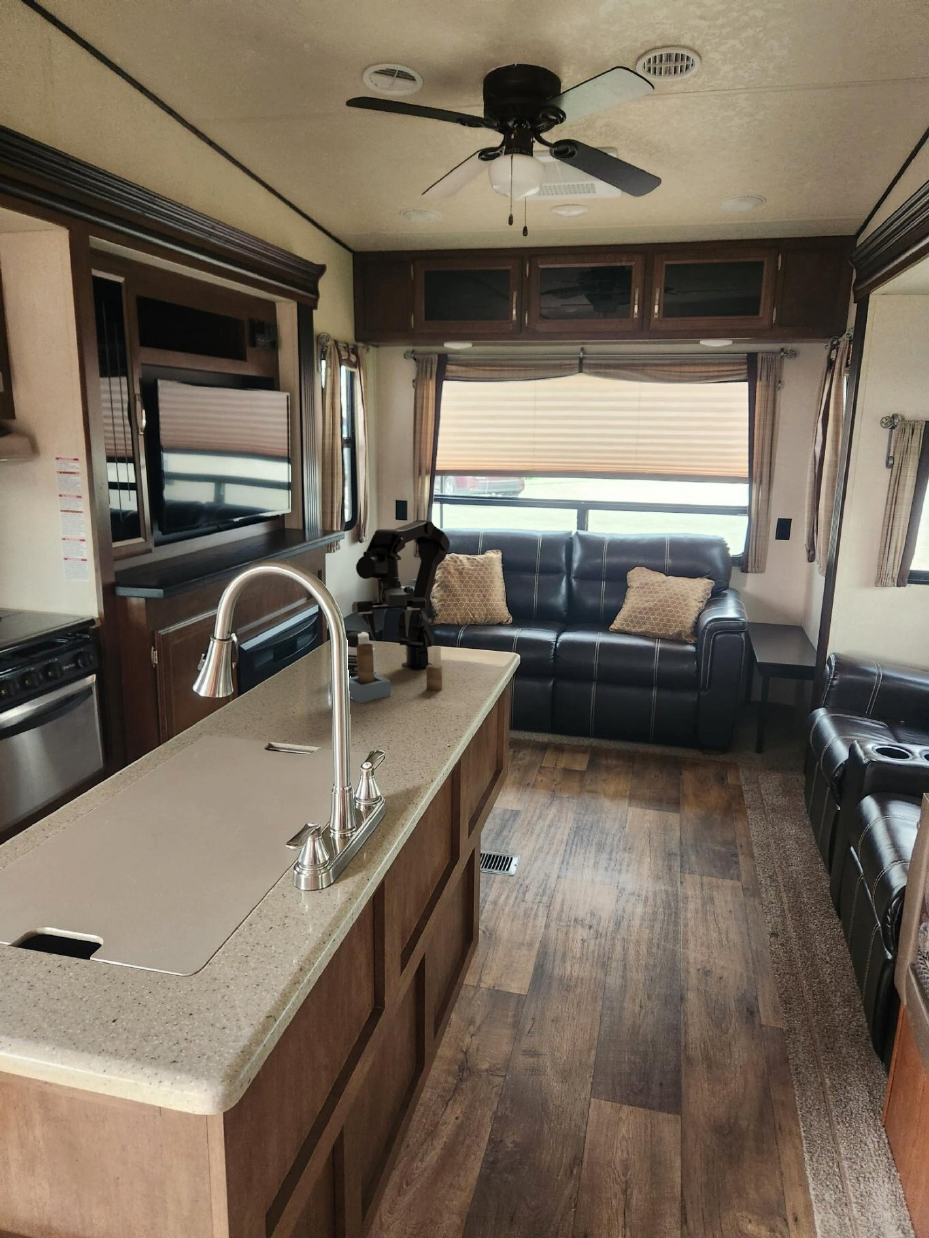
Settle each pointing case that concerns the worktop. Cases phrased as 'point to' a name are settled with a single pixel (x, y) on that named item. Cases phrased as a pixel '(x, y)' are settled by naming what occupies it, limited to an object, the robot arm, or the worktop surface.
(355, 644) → the medicine bottle
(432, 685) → the short pin
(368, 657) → the tall pin
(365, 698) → the socket block
